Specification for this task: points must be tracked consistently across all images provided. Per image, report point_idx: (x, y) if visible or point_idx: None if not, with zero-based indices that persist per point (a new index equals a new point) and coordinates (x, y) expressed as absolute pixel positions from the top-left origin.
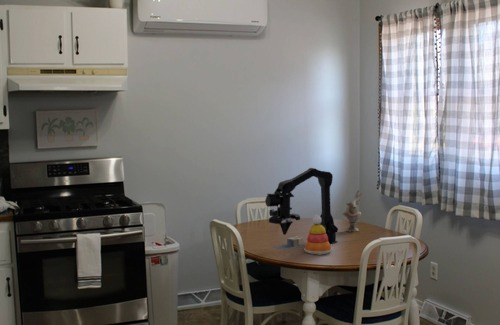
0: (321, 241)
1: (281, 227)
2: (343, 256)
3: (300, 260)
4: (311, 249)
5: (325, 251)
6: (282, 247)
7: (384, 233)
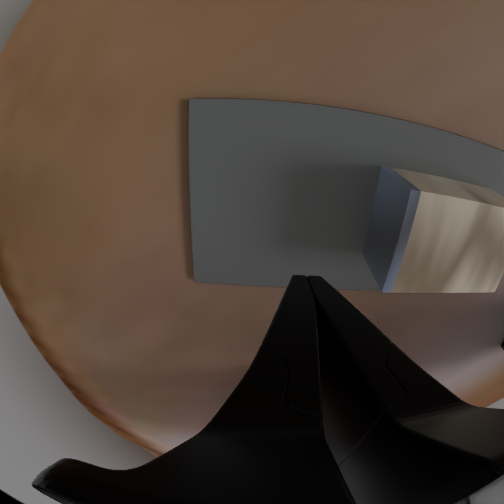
0: None
1: (247, 379)
2: None
3: (129, 410)
4: None
5: None
6: (259, 196)
7: None
